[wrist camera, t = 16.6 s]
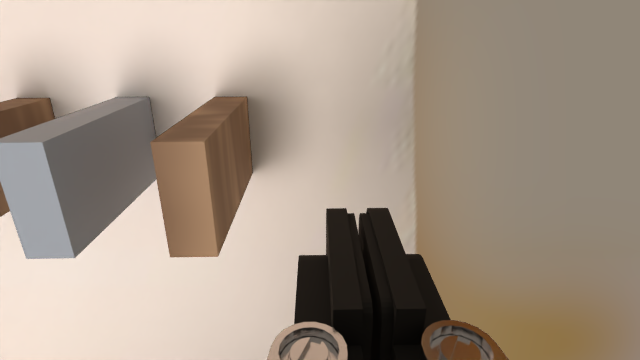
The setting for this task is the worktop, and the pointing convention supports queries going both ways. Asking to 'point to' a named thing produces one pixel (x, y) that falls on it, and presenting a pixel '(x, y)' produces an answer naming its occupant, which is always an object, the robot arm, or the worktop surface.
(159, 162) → the domino
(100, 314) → the worktop surface
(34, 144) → the gap domino
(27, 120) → the domino
